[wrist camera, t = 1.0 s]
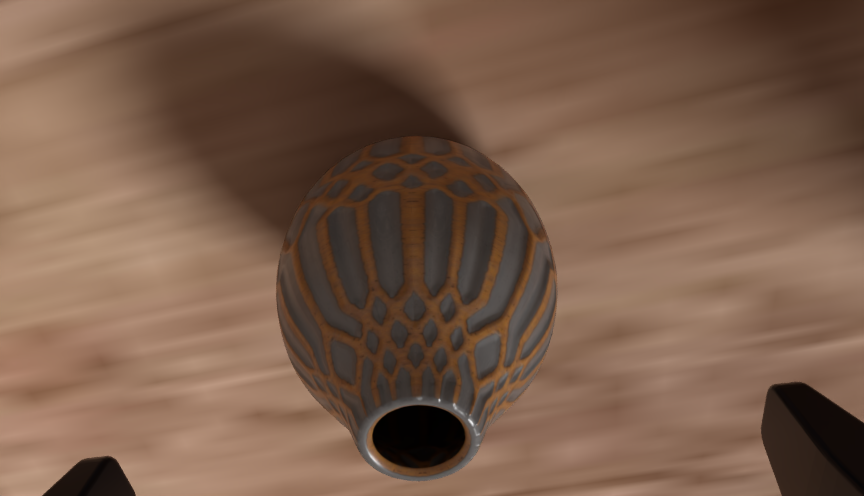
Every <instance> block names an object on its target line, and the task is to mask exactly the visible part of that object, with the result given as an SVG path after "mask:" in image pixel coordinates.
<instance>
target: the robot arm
mask: <svg viewBox="0 0 864 496" xmlns="http://www.w3.org/2000/svg"><path fill="white" fill-rule="evenodd" d="M761 434H762V440H763V444H764V447H765V450H766V453H767V455H768V458H769V461H770V464H771V467H772V469H773V472H774V475H775V478H776V481H777V483H778V486H779V489H780V492H781V494H782V496H864V423H863V422H862V421H860V420H859V419H857V418H856V417H854V416H853V415H851V414H850V413H849V412H847V411H846V410H844V409H843V408H841V407H840V406H838V405H837V404H835V403H834V402H832V401H831V400H829V399H828V398H826V397H825V396H824V395H822V394H821V393H819V392H818V391H816V390H815V389H813V388H812V387H810V386H809V385H807V384H805V383H802V382H791V383H781V384H774V385H772V386H770V388H769V389H768V392H767V396H766V402H765V408H764V413H763V419H762V425H761ZM42 496H136V495H135V492H134V490H133V488H132V486H131V484H130V483H129V481H128V479H127V477H126V476H125V474H124V472H123V470H122V469H121V467H120V465H119V463H118V462H117V460H116V459H114V458H113V457H111V456H103V457H94V458H86V459H83V460H81V461H80V462H78V463H77V464H76V465H75V466H74V467H73V468H72V469H70V470H69V471H68V472H67V473H66V474H65V475H64V476H63V477H62V478H61V479H60V480H59V481H57V482H56V483H55V484H54V485H53V486H52V487H51V488H50V489H49V490H48V491H47V492H46V493H44V494H43V495H42Z"/></svg>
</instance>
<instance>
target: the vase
mask: <svg viewBox="0 0 864 496" xmlns="http://www.w3.org/2000/svg"><path fill="white" fill-rule="evenodd" d="M276 300H277V310H278V318H279V323H280V328H281V333H282V337H283V341H284V344H285V347H286V350H287V353H288V356H289V358H290V360H291V363H292V365H293V367H294V369H295V371H296V373H297V375H298V376H299V378H300V379H301V381H302V382H303V384H304V385H305V387H306V388H307V389H308V391H309V392H310V393H311V395H312V396H313V397H314V398H315V399H316V400H317V401H318V402H319V403H320V404H321V405H322V406H323V407H324V408H325V409H326V410H327V411H328V412H329V413H330V414H331V415H332V416H333V417H334V418H336V419H337V420H338V421H339V422H340V423H341V424H342V425H344V426H345V427H346V428H347V429H348V430H349V431H350V433H351V435H352V437H353V440H354V442H355V444H356V446H357V448H358V450H359V452H360V454H361V455H362V457H363V458H364V459H365V461H366V462H367V463H368V464H369V465H371V466H372V467H373V468H374V469H376V470H378V471H379V472H381V473H383V474H385V475H388V476H390V477H393V478H397V479H402V480H409V481H427V480H434V479H438V478H442V477H445V476H448V475H450V474H453V473H455V472H457V471H458V470H460V469H462V468H463V467H464V466H465V465H467V464H468V463H469V462H470V461H471V460H472V459H473V457H474V456H475V455H476V453H477V451H478V449H479V447H480V445H481V443H482V441H483V438H484V436H485V434H486V431H487V429H488V428H489V427H490V426H491V425H492V424H493V423H494V422H495V421H496V420H498V419H499V418H500V417H501V416H502V415H503V414H504V413H505V412H506V411H507V410H508V409H509V408H510V407H511V406H512V405H513V404H514V403H515V402H516V401H517V400H518V399H519V397H520V396H521V395H522V394H523V393H524V392H525V390H526V389H527V388H528V386H529V385H530V383H531V382H532V380H533V379H534V377H535V376H536V374H537V372H538V370H539V368H540V366H541V364H542V362H543V360H544V357H545V355H546V352H547V350H548V346H549V343H550V339H551V336H552V332H553V327H554V321H555V316H556V306H557V274H556V266H555V261H554V257H553V252H552V248H551V245H550V242H549V239H548V236H547V233H546V230H545V228H544V225H543V223H542V221H541V219H540V217H539V215H538V213H537V211H536V209H535V207H534V205H533V203H532V202H531V200H530V199H529V197H528V196H527V194H526V193H525V192H524V190H523V189H522V188H521V187H520V186H519V184H518V183H517V182H516V181H515V180H514V179H513V178H512V177H511V176H510V175H509V174H508V173H507V172H506V171H505V170H504V169H503V168H502V167H500V166H499V165H498V164H496V163H495V162H494V161H492V160H491V159H489V158H488V157H486V156H485V155H483V154H482V153H480V152H478V151H476V150H474V149H472V148H470V147H467V146H465V145H462V144H460V143H457V142H453V141H450V140H446V139H440V138H435V137H426V136H408V137H399V138H393V139H388V140H384V141H380V142H377V143H374V144H371V145H368V146H366V147H364V148H361V149H359V150H357V151H355V152H354V153H352V154H350V155H349V156H347V157H345V158H344V159H343V160H341V161H340V162H339V163H337V164H336V165H335V166H333V167H332V168H331V169H330V170H328V171H327V172H326V173H325V174H324V175H323V176H322V177H321V178H320V179H319V180H318V181H317V183H316V184H315V185H314V186H313V187H312V189H311V190H310V191H309V192H308V194H307V195H306V196H305V198H304V199H303V201H302V202H301V204H300V206H299V208H298V209H297V211H296V213H295V215H294V218H293V220H292V222H291V224H290V227H289V229H288V232H287V235H286V237H285V240H284V244H283V247H282V250H281V255H280V260H279V265H278V270H277V282H276Z"/></svg>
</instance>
